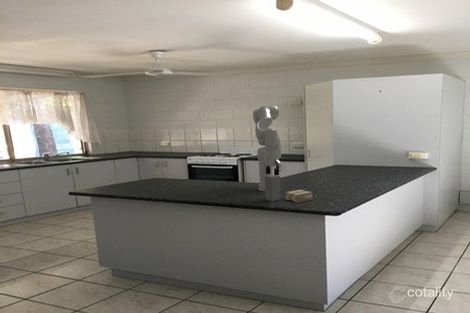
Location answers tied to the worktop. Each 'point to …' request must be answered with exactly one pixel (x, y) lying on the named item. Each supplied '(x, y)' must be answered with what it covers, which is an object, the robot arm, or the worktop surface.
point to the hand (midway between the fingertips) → (272, 174)
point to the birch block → (299, 195)
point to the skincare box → (272, 188)
